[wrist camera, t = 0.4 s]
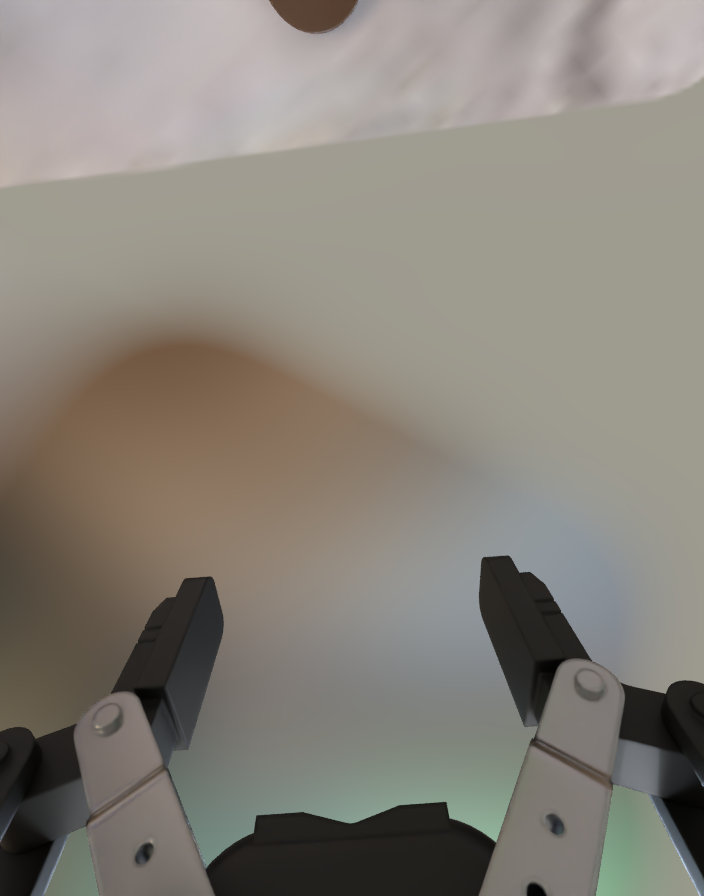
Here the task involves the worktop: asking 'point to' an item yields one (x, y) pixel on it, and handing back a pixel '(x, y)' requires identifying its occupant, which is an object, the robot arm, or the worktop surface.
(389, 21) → the worktop surface
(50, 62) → the worktop surface
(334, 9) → the red topped grey rod
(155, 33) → the worktop surface
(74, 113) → the worktop surface
